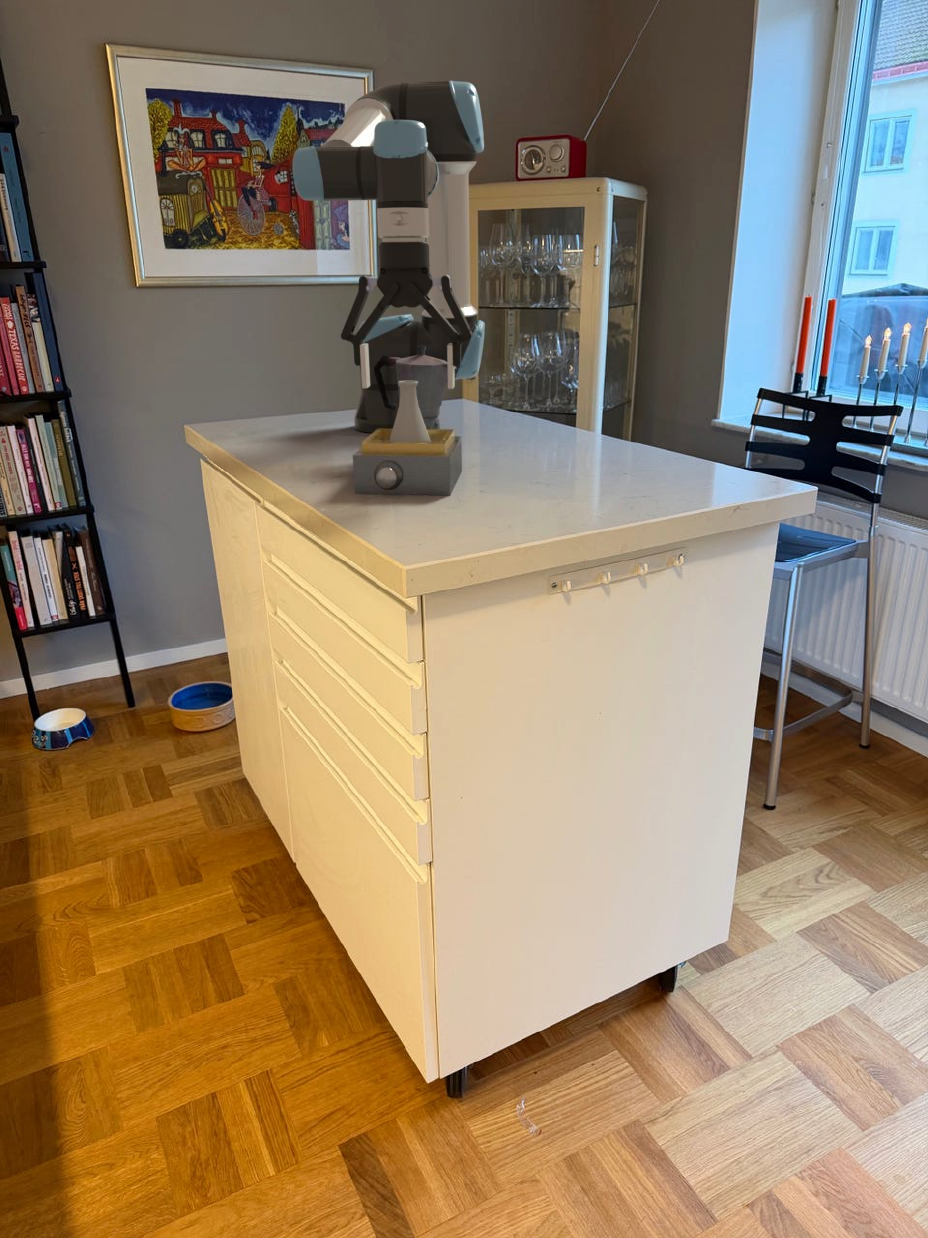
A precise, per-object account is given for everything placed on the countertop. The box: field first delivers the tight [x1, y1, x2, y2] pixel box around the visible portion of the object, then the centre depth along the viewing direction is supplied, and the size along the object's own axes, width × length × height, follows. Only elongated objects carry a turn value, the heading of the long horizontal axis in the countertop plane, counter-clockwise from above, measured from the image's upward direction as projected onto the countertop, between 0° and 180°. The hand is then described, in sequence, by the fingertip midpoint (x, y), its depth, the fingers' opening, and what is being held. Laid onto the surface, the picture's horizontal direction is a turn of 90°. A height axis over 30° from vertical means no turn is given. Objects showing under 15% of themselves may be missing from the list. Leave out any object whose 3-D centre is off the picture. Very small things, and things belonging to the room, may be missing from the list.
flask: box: [389, 380, 431, 443], centre depth 137 cm, size 7×7×10 cm
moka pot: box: [374, 345, 456, 429], centre depth 155 cm, size 10×15×20 cm, turn 78°
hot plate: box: [352, 428, 463, 496], centre depth 139 cm, size 19×15×8 cm
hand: (408, 387), depth 136 cm, fingers open, 13 cm apart
